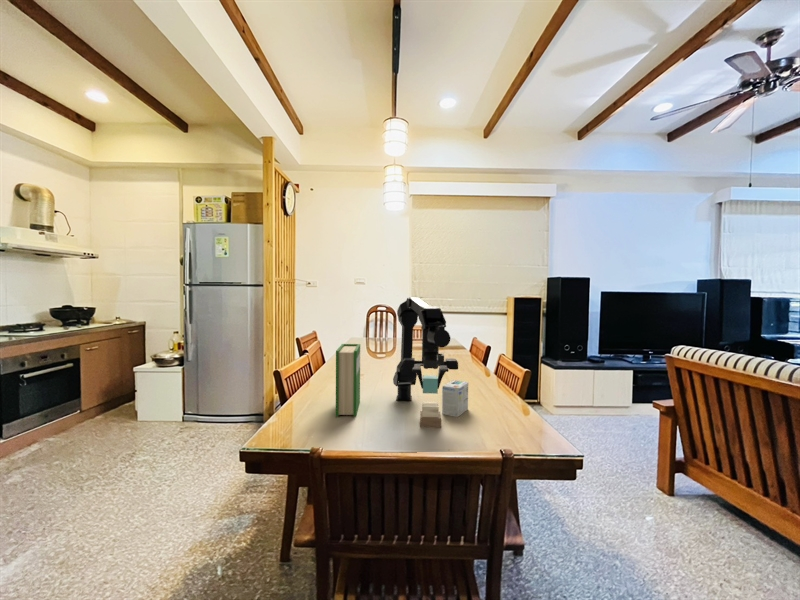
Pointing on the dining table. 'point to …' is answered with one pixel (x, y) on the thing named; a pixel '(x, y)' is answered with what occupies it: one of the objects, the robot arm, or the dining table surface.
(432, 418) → the walnut slab
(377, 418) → the dining table surface
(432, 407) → the maple block
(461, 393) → the light bulb box
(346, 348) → the hardback book
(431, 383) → the teal cube
